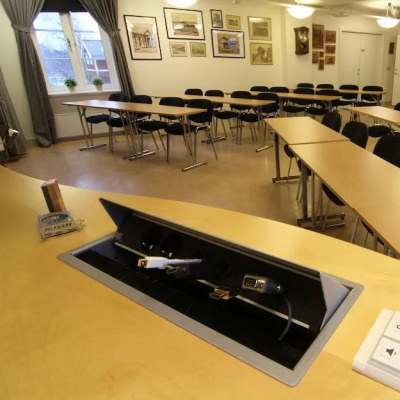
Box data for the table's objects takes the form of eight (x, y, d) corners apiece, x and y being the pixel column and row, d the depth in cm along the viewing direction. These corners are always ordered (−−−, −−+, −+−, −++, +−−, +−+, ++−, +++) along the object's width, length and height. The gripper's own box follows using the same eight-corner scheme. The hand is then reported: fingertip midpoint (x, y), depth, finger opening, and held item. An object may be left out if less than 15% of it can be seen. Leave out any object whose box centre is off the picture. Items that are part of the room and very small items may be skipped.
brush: (51, 218, 117) (39, 184, 112) (54, 212, 121) (43, 180, 117) (63, 216, 118) (53, 183, 114) (66, 210, 123) (56, 178, 118)
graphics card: (84, 219, 109) (38, 229, 101) (87, 229, 110) (42, 240, 102) (75, 205, 120) (33, 213, 112) (77, 214, 121) (36, 223, 113)
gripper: (15, 105, 107) (32, 156, 114) (-39, 107, 101) (-18, 160, 108) (7, 108, 101) (26, 161, 107) (-51, 110, 95) (-27, 166, 102)
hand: (4, 160), depth 108 cm, fingers closed
